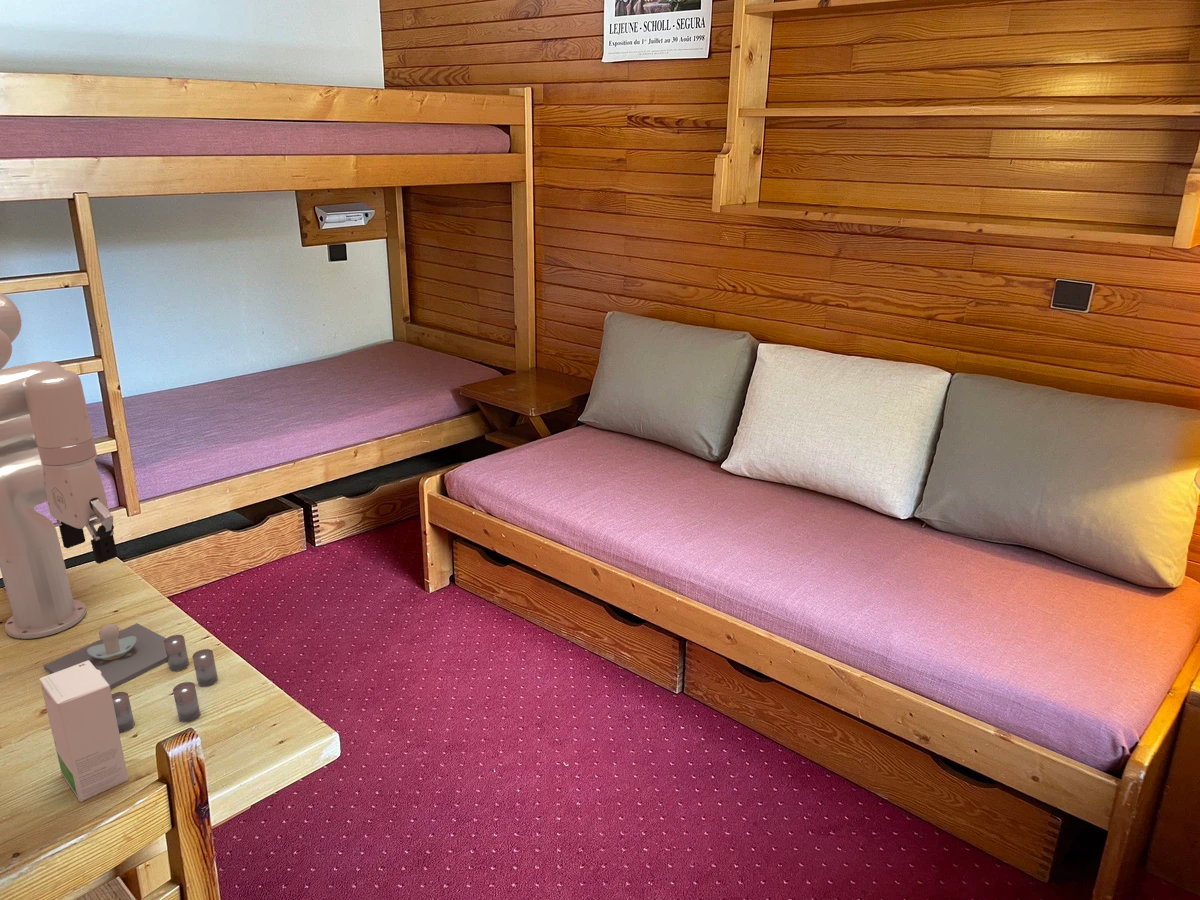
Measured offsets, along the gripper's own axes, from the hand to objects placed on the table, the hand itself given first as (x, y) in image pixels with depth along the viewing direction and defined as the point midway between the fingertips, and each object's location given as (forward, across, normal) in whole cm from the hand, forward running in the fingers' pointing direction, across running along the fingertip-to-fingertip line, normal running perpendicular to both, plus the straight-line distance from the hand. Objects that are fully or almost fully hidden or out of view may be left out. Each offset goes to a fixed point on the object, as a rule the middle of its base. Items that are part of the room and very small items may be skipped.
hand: (90, 552), depth 145 cm
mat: (+20, 0, 0) cm, 20 cm away
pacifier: (+19, -1, 0) cm, 19 cm away
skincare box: (+20, +27, -17) cm, 38 cm away
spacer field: (+20, +18, -2) cm, 27 cm away
